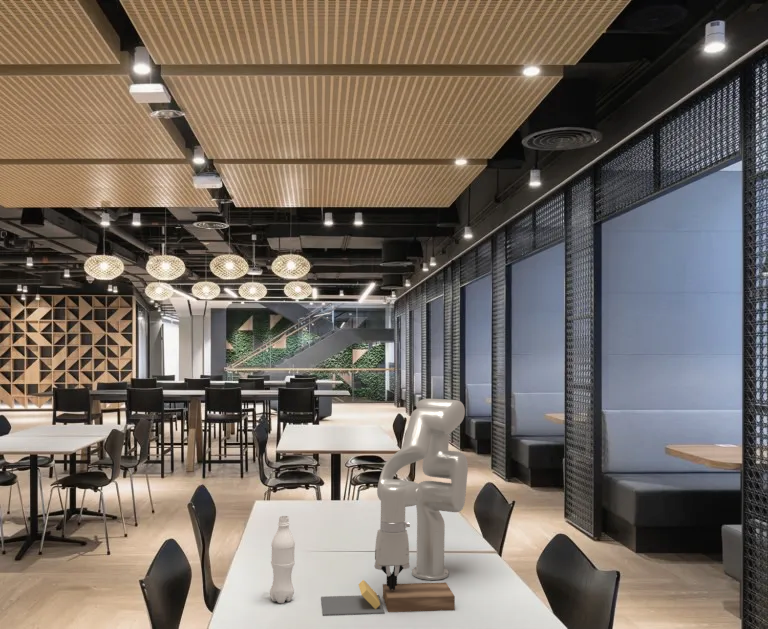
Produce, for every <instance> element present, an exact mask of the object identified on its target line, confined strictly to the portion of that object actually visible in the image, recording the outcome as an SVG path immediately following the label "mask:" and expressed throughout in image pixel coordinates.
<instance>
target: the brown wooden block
mask: <svg viewBox="0 0 768 629" xmlns="http://www.w3.org/2000/svg"><path fill="white" fill-rule="evenodd" d="M455 597H456V596H455V595H454V593H453V591H452V589H451V588H450V587H449V584H448V583H447V582H418V583H416V582H415V583H414V582H413V583H412V582H411V583H410V582H409V583H397V586H395V590H393V589H392V590H390V589H389V587H388V586H387V583H383V584H382V600H383V602H384V605H385V609H386V612H387V613H406V612H407V613H409V612H411V613H412V612H434V611H435V612H436V611H442V612H443V611H455V606H456V602H455V600H456V598H455Z"/></svg>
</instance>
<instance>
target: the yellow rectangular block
mask: <svg viewBox="0 0 768 629" xmlns="http://www.w3.org/2000/svg"><path fill="white" fill-rule="evenodd" d="M358 587H359V592H360V594H361V595H362V596H363V597H364V598H365V599H366V600H367V601H368V602H369V603H370V604H371V605H372V606H373V607H374V608H375V609H376V608H377V607H378V606H379V605H380V602H379V599H378V596H377V595H378V594H377V592H376V591H375V590H374V589H373V588H372V587H371V586H370V585H369V584H368V583H367V582H366V581H365V580H364V579H362V580H361V582H359V583H358Z"/></svg>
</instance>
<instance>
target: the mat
mask: <svg viewBox="0 0 768 629" xmlns="http://www.w3.org/2000/svg"><path fill="white" fill-rule="evenodd" d="M377 596H378V599H379V602H380V605H379V606H378V607H377V608H376V609H375V608H374V607H373V606H372V605H371V604H370V603H369V602H368V601H367V600H366V599H365V598H364V597H363V596H362V595H333V596H332V595H330V596H328V595H326V596H321V597H320V600H321V611H322V612H321V613H322V616H323V617H325V616H326V617H327V616H330V617H331V616H353V615H354V616H357V615H361V616H362V615H385V614H386V612H385V609H384V606H383V602H382V599H381V596H380V594H377Z"/></svg>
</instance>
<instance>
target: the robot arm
mask: <svg viewBox="0 0 768 629" xmlns="http://www.w3.org/2000/svg"><path fill="white" fill-rule="evenodd" d="M465 410H466V409H465V406H464V404H463V402H462V401H461V400H457V399H444V398H423V399H420V400H419V401H418V402H417V404H416V409H414V410H412V412H411V414H410V416H409V421H408V425H407V427H406V428H407V429H406V432H405V435H404V439H403V443H402V447H401V448H400V449H399V450H398V451H397V452H395V453H394V454H393V455H392V456H391V457H390V458H389V459H388V460H386V462H385V464H384V466H383V467H382V469H381V471H380V472H381V473H380V476H379V480H378V483H377V488H376V489H377V490H376V494H377V498H378V499H379V501H380V525H379V526H380V529H378V530H377V533H376V537H375V538H376V539H375V548H374V549H375V550H374V560H375V562H374V566H373V567H374V569H375V570H379V571H382V572H383V573H384V574H386V584H387V586H388V587H389V589H390V590H392V589H393V590H395V586H397V584H398V576H399V574H400V573H401V572H402V571H403V570H406V569H410V567H411V566H410V545H409V543H410V542H409V534H408V531H407V528H410V526H411V523H410V522H407V521H406V508H407V507H415V508H416V566H415V567H413V568H412V569H411V574H412V576H413V577H415V578H417V579H421V580H426V581H436V580H437V581H440V580H443V579H447V578H448V577H449V570H448V569H447V568H446V567H445V531H446V530H445V528H446V527H445V520H444V517H443V516H442V513H441V512H449V513H460V512H461V511H462V510H463V509H464V507H465V503H466V502H465V501H466V495H467V494H466V493H467V484H468V471H469V468H468V467H469V464H468V458H467V457H466V455H465V454H464V453H463V452H461V451H454V450H449V446H450V445H449V444H450V443H449V442H450V436H449V435H450V434H451V433H453V431H454V430H455V429H456V428H458V427H459V425H460V424H462V422H463V420H464V418H465V414H466V411H465ZM421 460H422V472H423V474H424V475H425V476H427V477H430V478H431V477H432V478H439V479H449V480H450V482H445V481H444V482H442V481H436V480H423V481H420V482H419V483H418V482H415V481H411V480H402V479H395V478H394V477H395V475H396V474H397V473H398V471H400V469H402V468H404V467H406V466H407V465H411V464H413V463H417V462H420V461H421ZM391 567H393V571H392V572H391Z"/></svg>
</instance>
